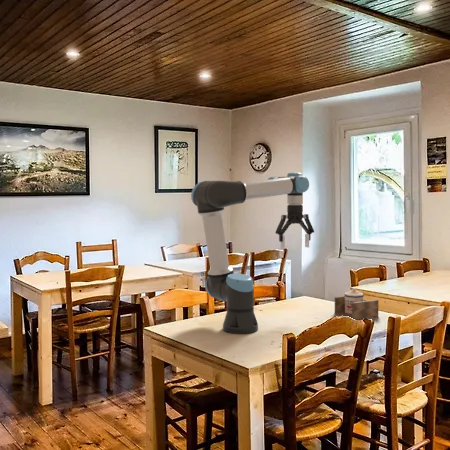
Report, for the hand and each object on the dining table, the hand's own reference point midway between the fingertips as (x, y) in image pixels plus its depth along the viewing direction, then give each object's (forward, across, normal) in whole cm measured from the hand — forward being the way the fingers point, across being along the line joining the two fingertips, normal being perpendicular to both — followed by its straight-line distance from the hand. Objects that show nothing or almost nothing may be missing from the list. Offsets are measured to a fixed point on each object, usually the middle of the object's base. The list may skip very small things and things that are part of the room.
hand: (294, 247), depth 263 cm
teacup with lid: (+30, -22, +20) cm, 43 cm away
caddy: (+31, -22, +20) cm, 43 cm away
